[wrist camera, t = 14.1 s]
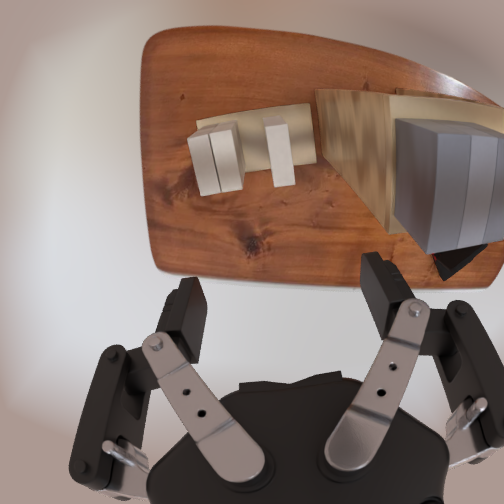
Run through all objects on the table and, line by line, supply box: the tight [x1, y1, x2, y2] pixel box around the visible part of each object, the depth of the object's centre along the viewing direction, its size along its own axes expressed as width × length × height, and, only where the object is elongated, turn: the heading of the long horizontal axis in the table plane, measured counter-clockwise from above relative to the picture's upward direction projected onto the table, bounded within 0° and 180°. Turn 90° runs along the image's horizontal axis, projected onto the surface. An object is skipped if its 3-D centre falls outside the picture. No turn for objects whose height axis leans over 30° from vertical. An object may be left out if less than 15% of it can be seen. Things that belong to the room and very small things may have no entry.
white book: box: [263, 116, 295, 187], centre depth 34 cm, size 7×2×10 cm, turn 9°
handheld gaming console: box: [432, 243, 488, 281], centre depth 43 cm, size 9×12×10 cm
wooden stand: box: [314, 88, 504, 254], centre depth 24 cm, size 10×14×29 cm
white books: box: [187, 103, 317, 196], centre depth 34 cm, size 9×16×10 cm, turn 100°
